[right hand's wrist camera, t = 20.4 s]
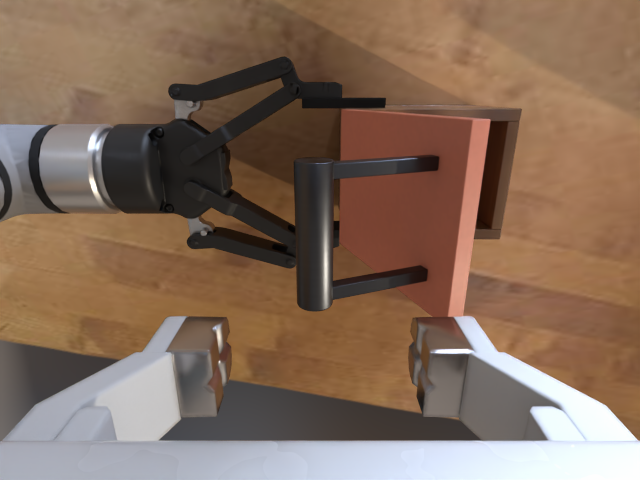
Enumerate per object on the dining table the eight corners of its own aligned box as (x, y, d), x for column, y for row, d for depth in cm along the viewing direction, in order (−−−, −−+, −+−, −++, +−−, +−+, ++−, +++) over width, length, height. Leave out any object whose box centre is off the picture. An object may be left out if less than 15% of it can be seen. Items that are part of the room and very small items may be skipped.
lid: (491, 119, 17) (313, 124, 14) (462, 323, 20) (314, 361, 18) (354, 109, 28) (240, 110, 26) (350, 241, 32) (250, 256, 29)
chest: (472, 105, 38) (522, 108, 29) (459, 206, 42) (500, 239, 32) (340, 105, 38) (346, 108, 29) (338, 207, 42) (344, 240, 32)
